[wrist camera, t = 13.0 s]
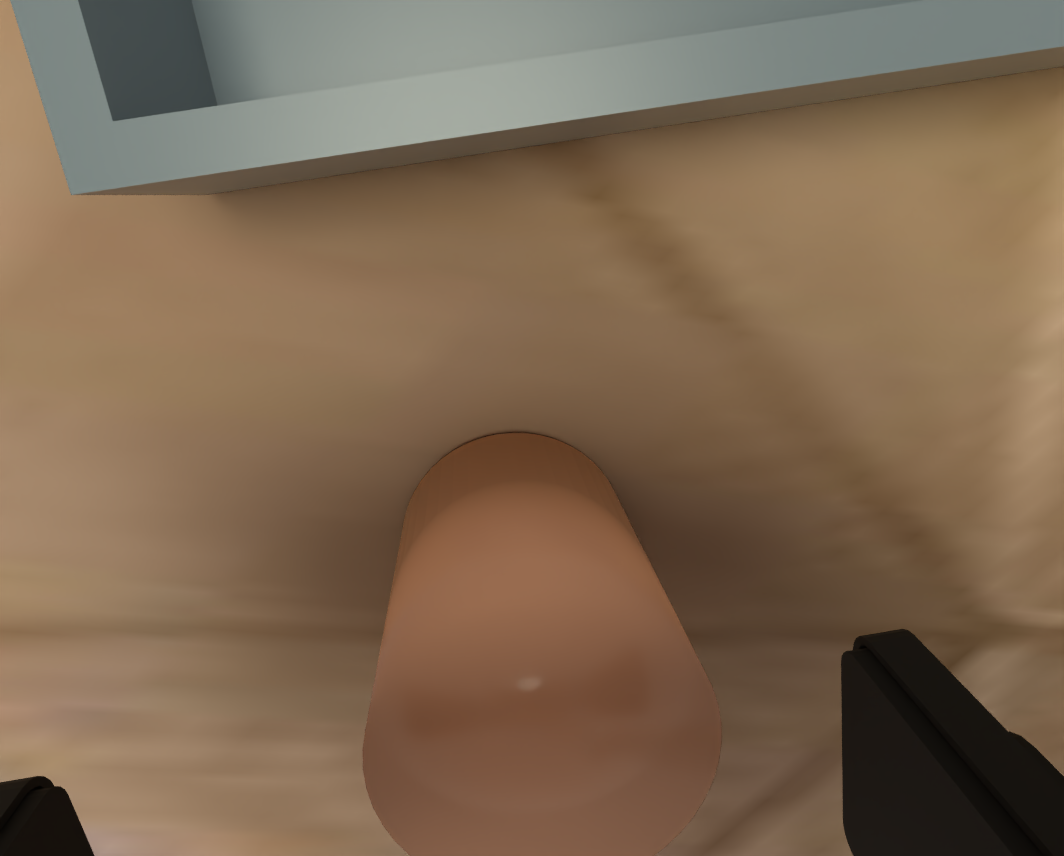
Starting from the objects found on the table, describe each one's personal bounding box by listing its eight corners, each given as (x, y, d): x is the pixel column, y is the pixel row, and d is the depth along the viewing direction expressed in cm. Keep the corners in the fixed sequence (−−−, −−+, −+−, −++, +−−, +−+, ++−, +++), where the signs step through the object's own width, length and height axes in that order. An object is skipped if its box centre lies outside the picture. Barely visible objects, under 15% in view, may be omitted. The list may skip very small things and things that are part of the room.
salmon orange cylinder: (606, 639, 18) (688, 898, 12) (395, 628, 18) (354, 893, 11) (638, 442, 17) (752, 606, 10) (410, 423, 16) (372, 583, 10)
